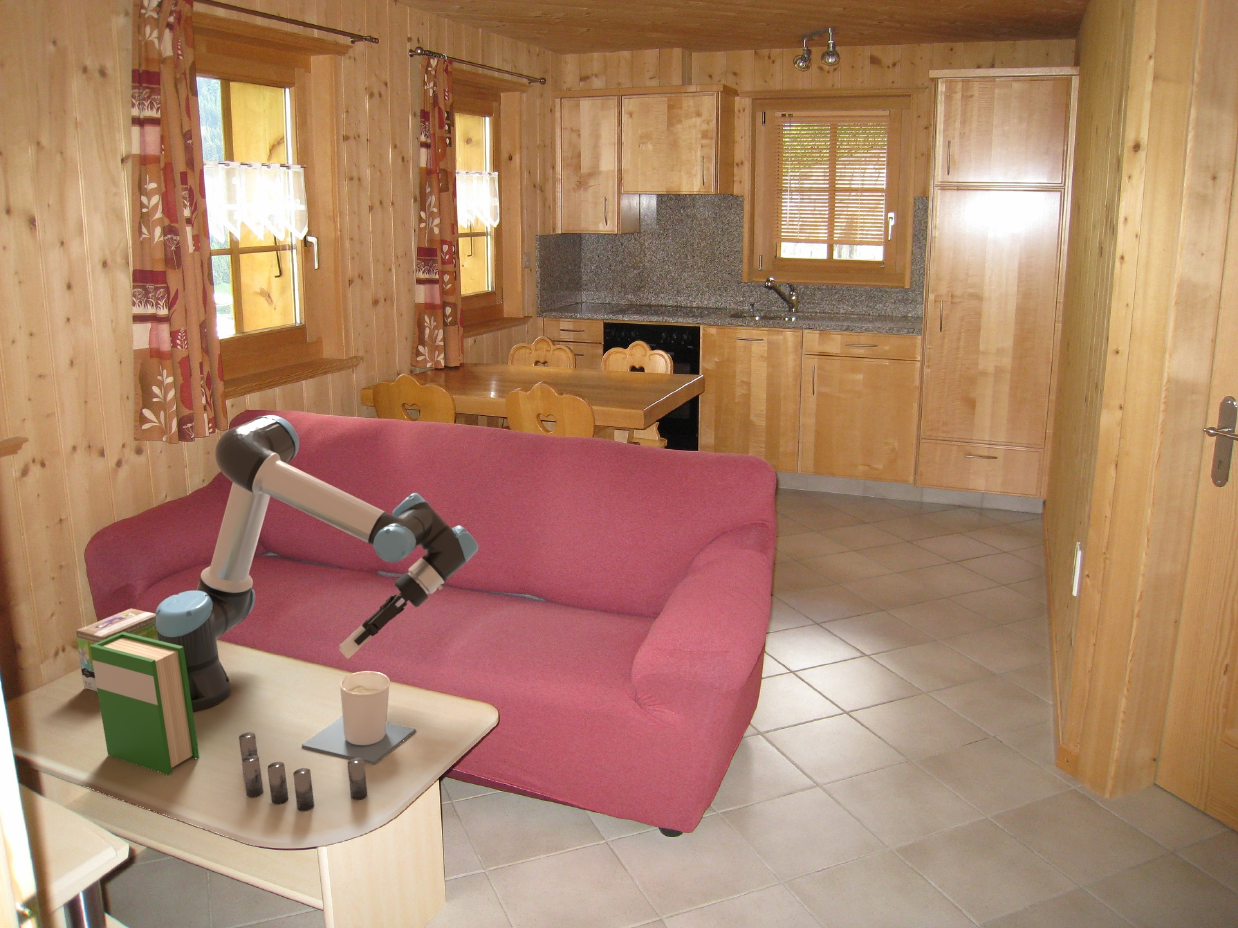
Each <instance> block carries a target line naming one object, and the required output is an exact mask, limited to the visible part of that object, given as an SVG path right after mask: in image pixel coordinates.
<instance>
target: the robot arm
mask: <svg viewBox="0 0 1238 928" xmlns="http://www.w3.org/2000/svg"><path fill="white" fill-rule="evenodd" d="M299 449H300V439H299V435H298V432H297V431H296V430H295V427H294V426H293V425H292V424H291V423H290V422H289V421H287V420H286V419H285V418H283V417H280V416H277V415H273V414H272V415H271V414H268V415H264V416H263V415H262V416H261V415H260V416H257V417H255V418H253V419H252V420H250V421H248V422H245V423H243V424H239V425H237V426H235V427H232V428H230V429H227V431H226V432H224V433H223V434H222V435H221V436H220V438H219V439H218V440H217V443H216V445H215V451H214V454H215V456H214V457H215V462H216V465H217V467H218V468H219V470H220V471H221V473H222V475H224V477H226V478H227V479H228V480H229V481H231V482H232V483H231V488H230V491H229V494H228V495H229V496H228V499H227V502H226V507H225V510H224V515H223V518H222V521H221V525H220V530H219V533H218V535H217V536H218V537H217V540H216V544H215V548H214V552H213V556H212V560H211V563H210V565H209V566H208V567H206V568H204V569H203V570H202V571H201V573H200V576H199V580H198V585H197V587H196V588H197V589H196V590H186V591H182V592H179V593H178V594H173V595H170V596H169V597H166V598H165V599H164V600H163V601H161V602H160V603H159V604H158V606H157V608H156V610H155V614H156V629H157V632H158V639H159V641H162V642H167V643H171V644H175V645H179V646H183V647H184V653H185V660H186V667H187V674H188V681H189V688H190V696H191V703H192V710H193V712H196V711H197V712H198V711H202V710H205V709H208V708H211V707H214V706H217V705H218V704H220V703H221V702H223V701H225V700H226V699H227V698H229V696H230V695H231V693H232V686H231V685H232V684H231V680H230V678H229V676H228V675H227V672H226V670H225V668H224V667H223V665H222V663H221V661H220V657H219V651H218V644H217V640H218V639H220V638H221V637H222V636H224V635H225V634H226V633H228V632H229V631H230V630H231V629H233V628H234V627H236V626H237V625H239V624H241V623H242V622H243V621H245V619H246V618H247V617H248V616H249V614H250V613H251V612H252V610H253V608H254V606H255V602H256V593H255V590H254V589H253V583H254V580H253V578H252V577H251V575H250V570H251V567H252V564H253V559H254V556H255V553H256V549H257V545H258V541H259V537H260V534H261V530H262V528H263V523H264V521H265V516H266V512H267V509H268V505H269V503H270V498H271V497H272V498H274V499H275V500H278V501H280V502H281V503H284V504H286V505H289V506H291V507H292V508H294V509H297V510H299V511H301V512H303V513H305V514H307V515H309V516H311V517H313V518H315V519H318V520H319V521H322V522H324V523H326V524H328V525H331V526H332V527H334V528H336V529H338V530H341V531H342V532H345V533H346V534H349V535H350V536H353V537H355V538H357V539H358V540H361V541H363V542H366V543H367V544H369V545H371V546H372V547H373V549H374V552H375V553H376V555H377V556H378V557H379V559H381V560H383V561H384V562H388V563H398V562H400V561H402V560H403V559H405V558H407V557H409V555H411V554H412V553H413V552H414V550H415V549H417V547H418V546H420V547H421V548H422V549H423V550H425V552H426V553H425V554H424V555H423V556H421V557H420V558H419V559H418V560H416V562H414V564H412V565H411V566H410V567H409V568H408V572H404V573H403V574H401V576H400V577H399V578H397V579H396V580H395V581H394V586H395V588H396V589H397V590H398V591H399V593H398V594H394V595H391V596H388V598H387V599H386V600H385V602H384V603H383V604H382V605H381V606H380V607H379V609H378V610H377V611H375V613H374V614H372V615H371V616H370V617H369V618H367V619H366V620H364V622H363V623H362V624H361V625H360V626H359V627H358V628H357V629H355V631H353V632H352V633H351V634H350V635H349V636H348V637H347V638H346V639H345V640H343V641H342V643H340V644H339V645H338V646H339V652H340V653H342V655H343V656H344V657H345V658H346V659H347V660H349V659H350V658H351V657H352V656H354V654H355V653H356V652H357V651H359V650H360V649H361V648H362V647H363V646H364V645H366V644H367V642H369V641H370V640H371V639H372V638H373V637H374V636H375V635H377V634H378V633H379V632H380V631H381V629H383V628H384V627H385V626H386V625H387V624H388V623H389V622H390V621H392V620H394V619H395V618H396V617H397V616H398V615H399V614H401V613H402V612H403V611H404V610H405V607H407V605H408V602H410V604H411V605H413V607H415V608H419V607H420V606H421V605H422V604H423V603H424V602H425V601H427V599H428V598H429V594H430V595H432V594H434V593H435V592H436V591H437V590H439V591H441V590H442V589H443V586H442V584H444V583H446V581H447V580H449V579H450V578H451V577H452V576H453V575H454V574H456V573H457V571H459V570H460V569H461V568H462V567H464V566H465V565H466V564H467V563H468V562H469V560H470V559H472V557H473V556H475V555H476V553H477V552H478V551H479V544H478V541H477V540H476V539H475V538H474V536H473V535H472V534H470V532H469V531H467V529H465V527H463V525H456V526H454V527H451V526H449V525H448V524H447V523H446V521H445V520H444V519H443V517H441V516H440V514H439V513H437V512H436V510H435V509H434V508H433V507H432V506H431V504H430V503H429V502H428V500H425V498H424V497H422V496H421V495H420V494H419V493H418V492H413V493H411V494H410V495H408V496H407V497H406V498H405V499H403V501H402V502H401V503H400V504H398V505H397V506H396V507H395V508H394V509H393V510H392V513H388V512H386V511H385V510H383V509H380V508H378V507H376V506H375V505H373V504H370V503H368V502H367V501H364V500H362V499H360V498H358V497H356V496H355V495H352V494H350V493H347V492H346V491H344V490H341V489H340V488H338V487H335V486H333V485H331V484H329V483H327V482H325V481H323V480H321V479H320V478H317V477H315V476H313V475H312V474H309V473H307V472H304V471H303V470H300V469H298V468H297V467H295V466H292V465H290V464H289V463H290V462H291V461H292V460H293V459H294V458H295V457H296V456H297V454H298V452H299Z"/></svg>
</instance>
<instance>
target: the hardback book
mask: <svg viewBox="0 0 1238 928" xmlns="http://www.w3.org/2000/svg"><path fill="white" fill-rule="evenodd" d="M90 649H91V655H92V662H93V668H94V674H95V680H96V686H97V691H96V692H97V696H98V703H99V709H100V714H101V720H102V727H103V734H104V739H105V745H106V752H107V755H110V756H109V757H111V756H112V758H114V757H115V759H117V758H118V760H121V761H123V760H124V761H125V762H127V763H131V764H134V765H136V764H137V765H136V766H140V767H142V766H143V768H145V767H146V768H145V769H148V768H149V769H148V770H151V769H152V770H151V771H154V770H155V771H154V772H157V771H159V772H158V773H160V772H161V773H160V774H163V773H164V774H163V775H166V774H167V775H166V776H169V775H168V774H170V773H171V774H173V770H172V768H174V767H176V766H177V765H179V764H180V763H182V762H184V761H186V760H188V759H189V758H190V757H191V758H190V759H193V758H194V760H196V759H195V758H197V759H198V758H200V753H199V747H198V746H199V745H198V740H197V739H198V737H197V733H196V725H195V724H196V723H195V719H194V711H193V710H192V703H191V696H190V688H189V681H188V674H187V667H186V660H185V653H184V647H183V646H179V645H175V644H171V643H167V642H162V641H158V640H154V639H150V638H146V637H142V636H138V635H134V634H130V633H126V632H121V633H119V634H117V635H114V636H112V637H110V638H107V639H105V640H103V641H100V642H98V643H95V644H93V645H91V646H90ZM124 761H123V762H124ZM171 774H170V775H171Z"/></svg>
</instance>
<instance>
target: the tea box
mask: <svg viewBox="0 0 1238 928" xmlns="http://www.w3.org/2000/svg"><path fill="white" fill-rule="evenodd" d="M75 632H76V633H75V634H76V641H77V648H78V649H77V650H78V656H79V664H80V668H81V669H80V671H81V678H82V684H83V688H84V689H87V690H91V691H93V692H97V686H96V680H95V674H94V668H93V662H92V655H91V649H90V646H91V645H93V644H95V643H98V642H100V641H103V640H105V639H107V638H110V637H112V636H114V635H117V634H119V633H121V632H126V633H130V634H134V635H138V636H142V637H146V638H150V639H154V640H158V641H159V639H158V632H157V629H156V613H153V612H149V611H144V610H140V609H136V608H128V609H126V610H123V611H121V612H118V613H116V614H113V615H111V616H108V617H106V618H104V619H101V620H99V621H98V620H97V621H95V622H93V623H91V624H89V625H86V626H83V627H80V628H78V629H76V630H75Z"/></svg>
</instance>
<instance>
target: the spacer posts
mask: <svg viewBox="0 0 1238 928" xmlns="http://www.w3.org/2000/svg"><path fill="white" fill-rule="evenodd" d="M256 737H257V736H256V733H254V732H251V731H250V732H245V733H242V734H240V735H239V737H238V741H239V748H240V757H241V764H242V770H243V778H244V785H245V794H246V797H247V798H250V799H253V798H254V799H255V798H257V797H260V796H262V795H263V794H264V785H263V778H262V770H261V762H260V757H259V754H258V753H259V752H258V745H257V738H256ZM365 765H366V764H365V762H364V759H362V758H353V759H349V760H348V761H347V771H348V772H347V773H348V781H349V790H350V791H349V792H350V793H349V794H350V799H351V800H353V801H361V800H364V799H366V798H367V797H368V786H367V776H366V775H367V774H366V766H365ZM292 774H293V775H292V776H293V783H294V792H295V801H296V809H297V811H299V812H308V811H311V810H312V809H313V808H314V807H315V801H314V800H315V799H314V791H313V789H314V788H313V781H312V772H311V769H310V768H307V767H302V768H298V769H295V770H294V771H293V773H292ZM267 775H268V783H269V784H268V785H269V791H270V793H269V794H270V800H271V804H273V805H283V804H285V803H286V802H288V800H289V799H290V798H289V792H288V782H287V774H286V765H285V762H282V761H274V762H272V763H270V764H268V766H267Z"/></svg>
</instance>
